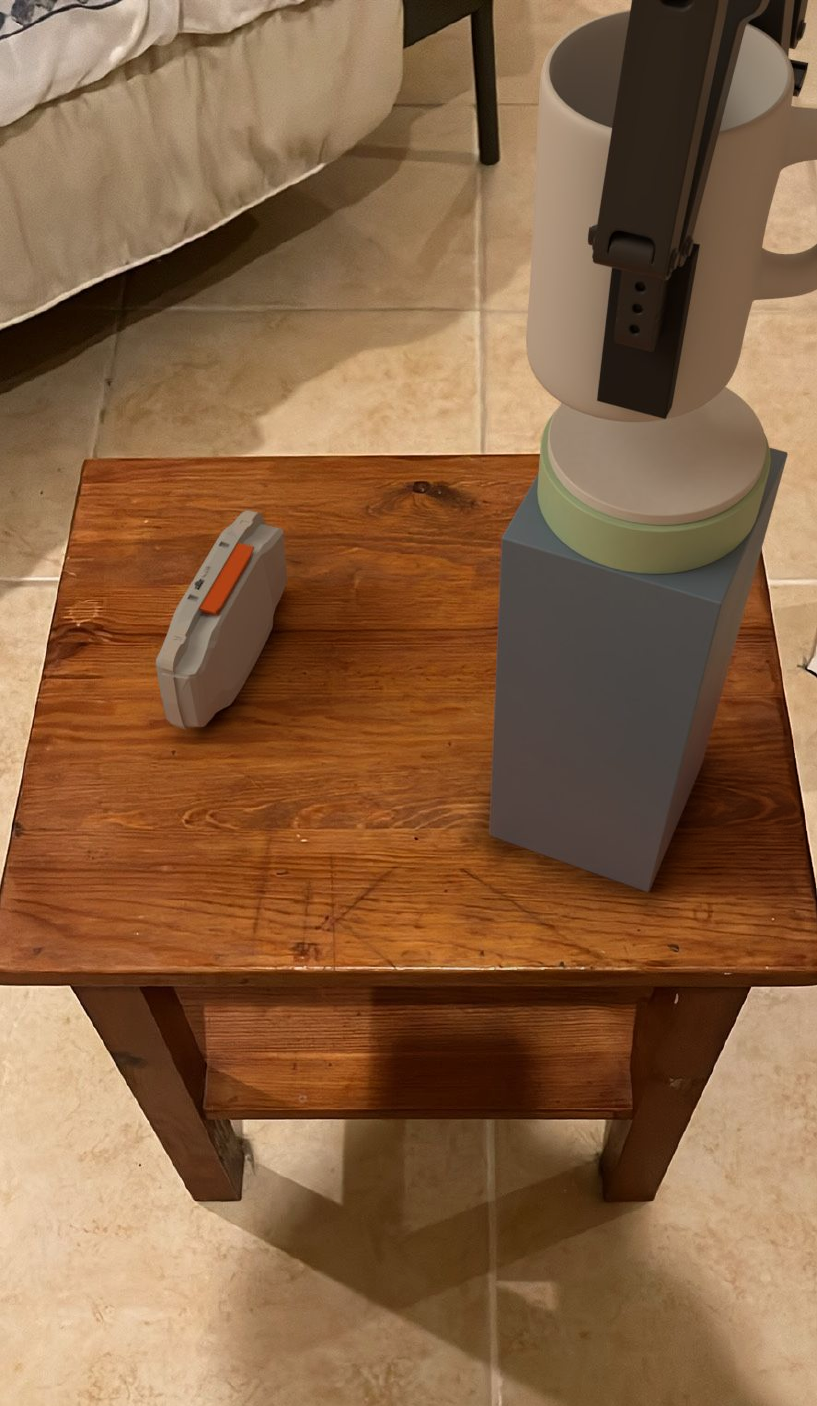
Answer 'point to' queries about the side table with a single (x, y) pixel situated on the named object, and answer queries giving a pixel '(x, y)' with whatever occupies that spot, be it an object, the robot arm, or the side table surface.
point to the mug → (726, 227)
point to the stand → (608, 693)
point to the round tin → (654, 485)
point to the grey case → (222, 622)
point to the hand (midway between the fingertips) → (673, 330)
